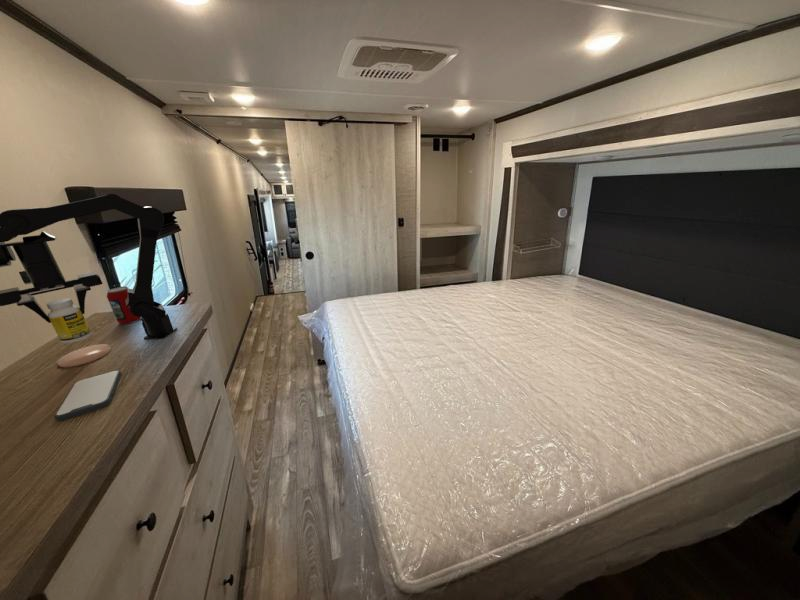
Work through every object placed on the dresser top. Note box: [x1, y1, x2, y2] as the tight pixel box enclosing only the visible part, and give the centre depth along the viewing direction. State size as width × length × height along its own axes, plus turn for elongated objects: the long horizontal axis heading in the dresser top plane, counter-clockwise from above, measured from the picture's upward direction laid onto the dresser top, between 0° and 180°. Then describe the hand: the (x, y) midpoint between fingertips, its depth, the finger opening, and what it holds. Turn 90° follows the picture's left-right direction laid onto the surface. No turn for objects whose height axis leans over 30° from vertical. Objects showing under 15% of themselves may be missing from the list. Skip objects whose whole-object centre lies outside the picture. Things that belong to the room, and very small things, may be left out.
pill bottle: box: [46, 297, 92, 344], centre depth 85 cm, size 6×6×11 cm
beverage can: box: [106, 286, 142, 325], centre depth 109 cm, size 7×7×12 cm
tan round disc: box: [56, 343, 112, 368], centre depth 89 cm, size 11×11×1 cm
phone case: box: [53, 369, 122, 422], centre depth 71 cm, size 9×2×16 cm
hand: (67, 317), depth 84 cm, fingers closed on pill bottle, 6 cm apart
